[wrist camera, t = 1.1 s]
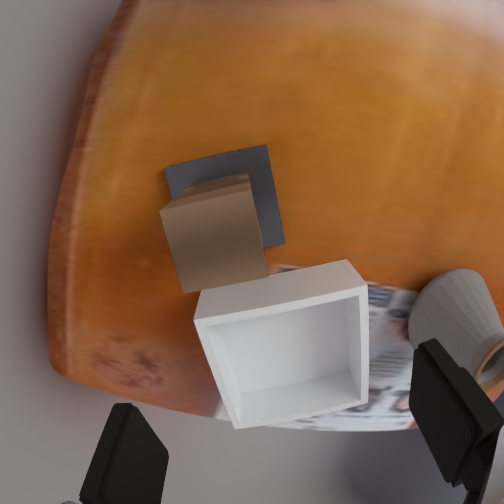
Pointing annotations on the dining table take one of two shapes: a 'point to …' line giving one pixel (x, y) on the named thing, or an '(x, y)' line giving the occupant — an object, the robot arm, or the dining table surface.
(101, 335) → the dining table surface
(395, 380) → the dining table surface
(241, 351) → the grey bin
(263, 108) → the dining table surface
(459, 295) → the coffee pot
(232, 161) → the stud plate
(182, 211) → the walnut post
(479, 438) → the robot arm
